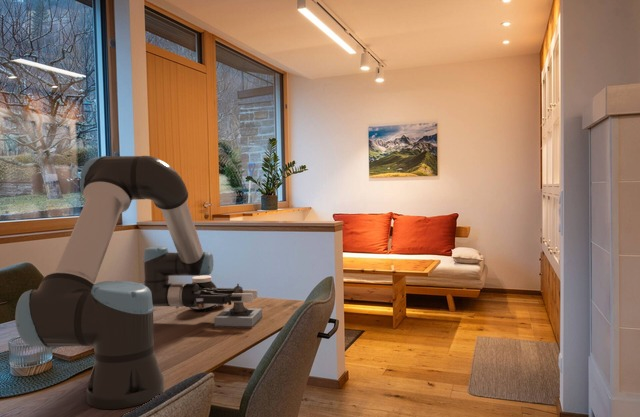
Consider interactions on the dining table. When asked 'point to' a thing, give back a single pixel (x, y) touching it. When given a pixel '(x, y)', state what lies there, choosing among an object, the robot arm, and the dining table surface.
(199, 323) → the dining table surface
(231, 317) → the socket block
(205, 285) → the spread jar
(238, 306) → the salt shaker
